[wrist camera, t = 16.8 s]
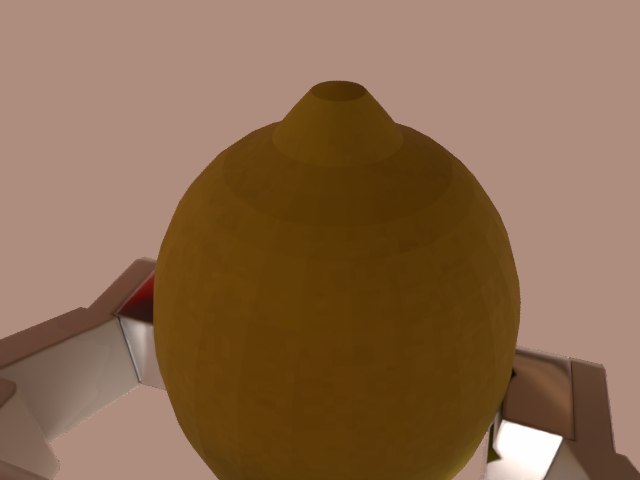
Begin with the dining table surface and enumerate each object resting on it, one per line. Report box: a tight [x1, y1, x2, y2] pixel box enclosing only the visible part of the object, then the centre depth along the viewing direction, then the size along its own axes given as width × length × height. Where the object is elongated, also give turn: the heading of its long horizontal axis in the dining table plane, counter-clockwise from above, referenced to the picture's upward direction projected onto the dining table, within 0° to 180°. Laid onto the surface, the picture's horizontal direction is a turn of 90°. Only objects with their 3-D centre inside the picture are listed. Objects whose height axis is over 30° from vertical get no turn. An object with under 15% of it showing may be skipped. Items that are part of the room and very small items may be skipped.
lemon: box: [153, 81, 521, 480], centre depth 9 cm, size 6×6×8 cm
